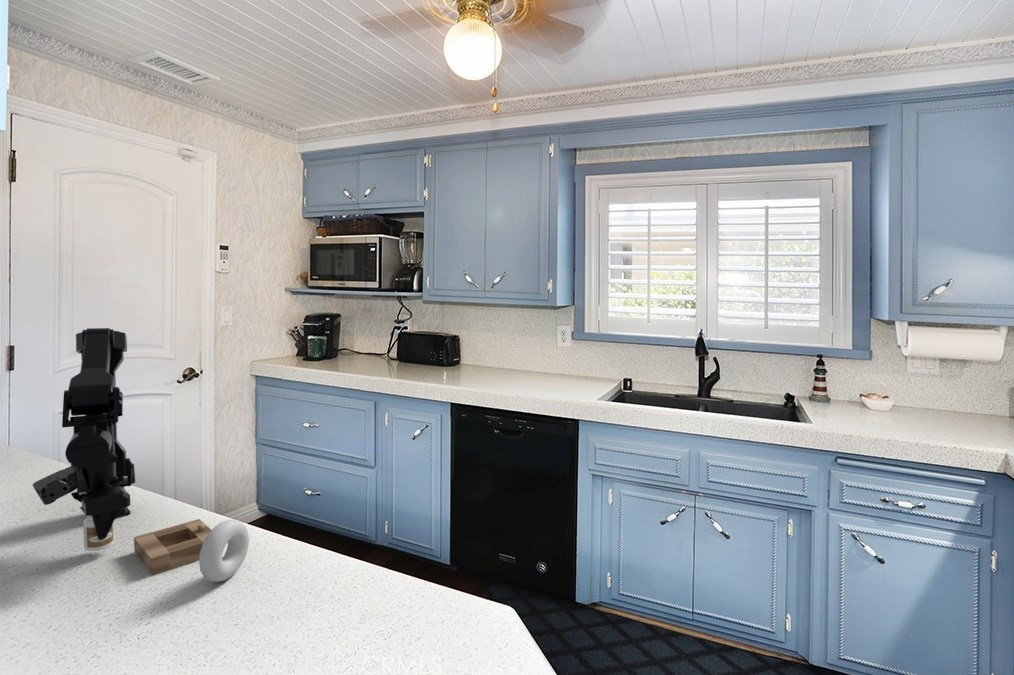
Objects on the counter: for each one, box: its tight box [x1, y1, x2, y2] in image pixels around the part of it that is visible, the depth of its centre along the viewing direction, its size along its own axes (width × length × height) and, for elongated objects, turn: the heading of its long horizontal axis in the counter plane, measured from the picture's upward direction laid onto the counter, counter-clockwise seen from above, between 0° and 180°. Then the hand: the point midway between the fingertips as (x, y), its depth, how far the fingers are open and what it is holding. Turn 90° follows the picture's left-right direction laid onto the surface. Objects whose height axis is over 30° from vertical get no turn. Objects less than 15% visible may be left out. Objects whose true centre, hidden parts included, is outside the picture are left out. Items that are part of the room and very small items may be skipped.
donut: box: [198, 519, 250, 583], centre depth 91 cm, size 10×4×10 cm, turn 168°
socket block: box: [133, 518, 212, 576], centre depth 99 cm, size 11×11×4 cm
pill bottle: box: [82, 516, 115, 552], centre depth 97 cm, size 4×4×8 cm
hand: (99, 534), depth 98 cm, fingers closed on pill bottle, 4 cm apart
